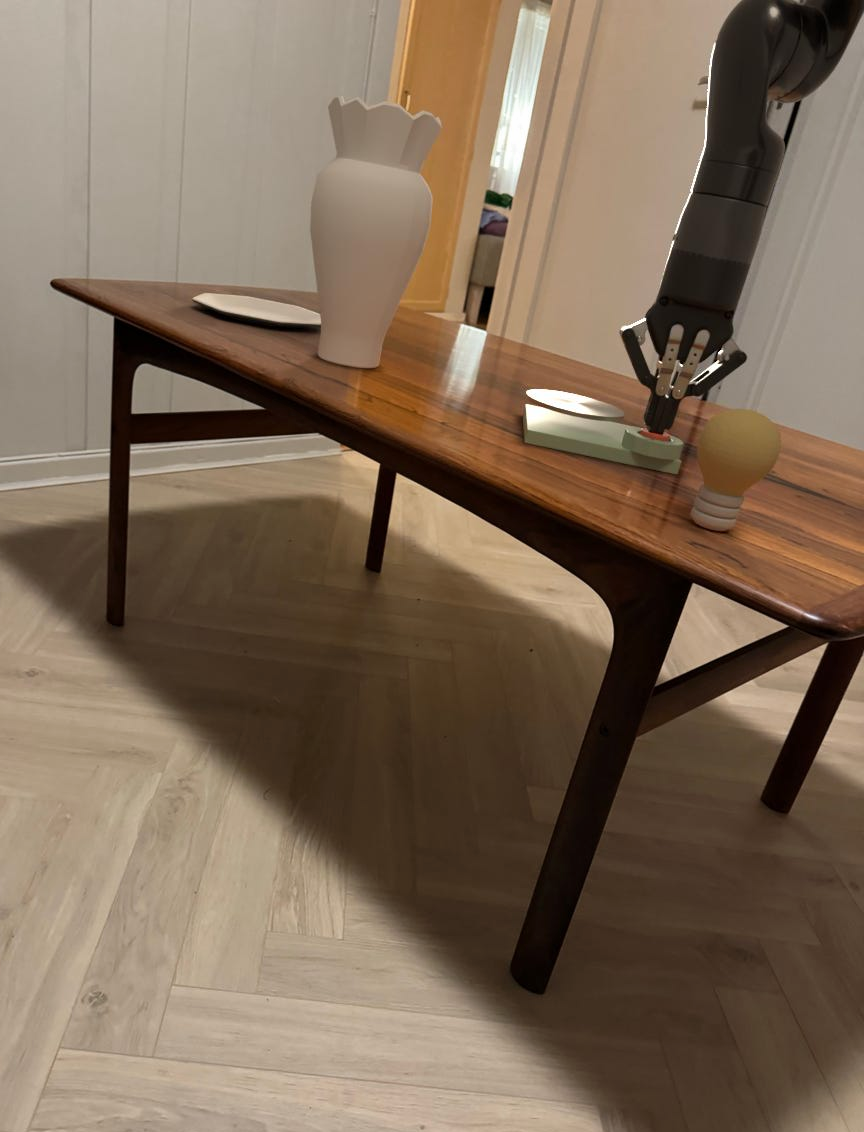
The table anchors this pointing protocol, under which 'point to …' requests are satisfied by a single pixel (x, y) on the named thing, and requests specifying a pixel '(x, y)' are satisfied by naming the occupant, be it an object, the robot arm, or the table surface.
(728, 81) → the robot arm
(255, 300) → the plate
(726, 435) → the light bulb
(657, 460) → the scale
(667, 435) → the button
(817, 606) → the table surface
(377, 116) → the vase
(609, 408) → the scale pan
